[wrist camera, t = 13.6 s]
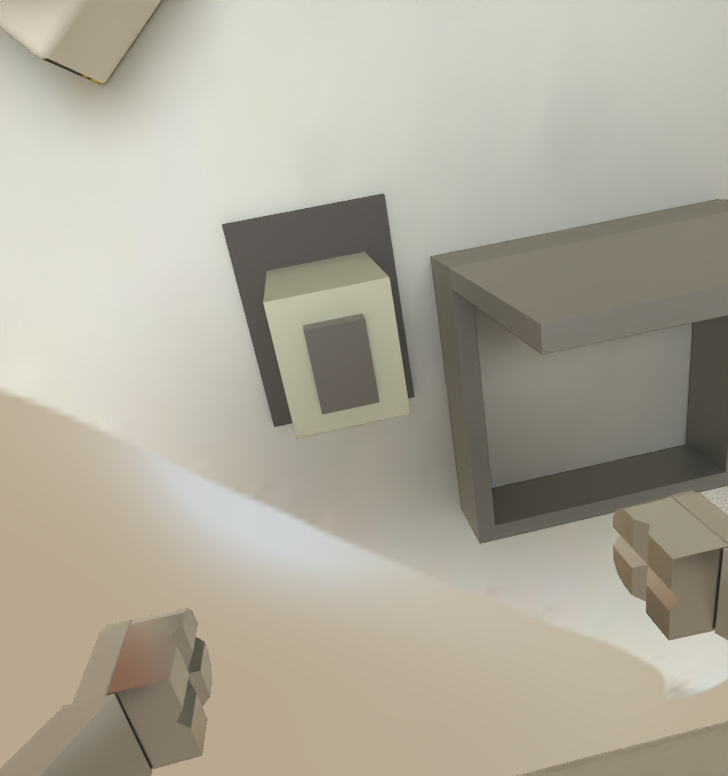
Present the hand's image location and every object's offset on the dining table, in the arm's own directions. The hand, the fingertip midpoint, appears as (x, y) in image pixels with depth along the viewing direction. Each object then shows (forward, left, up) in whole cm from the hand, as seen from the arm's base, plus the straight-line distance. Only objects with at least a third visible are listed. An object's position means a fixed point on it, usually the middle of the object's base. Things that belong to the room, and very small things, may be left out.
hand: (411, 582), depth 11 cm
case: (-14, +6, -21) cm, 26 cm away
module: (0, 0, -21) cm, 21 cm away
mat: (0, 0, -21) cm, 21 cm away
